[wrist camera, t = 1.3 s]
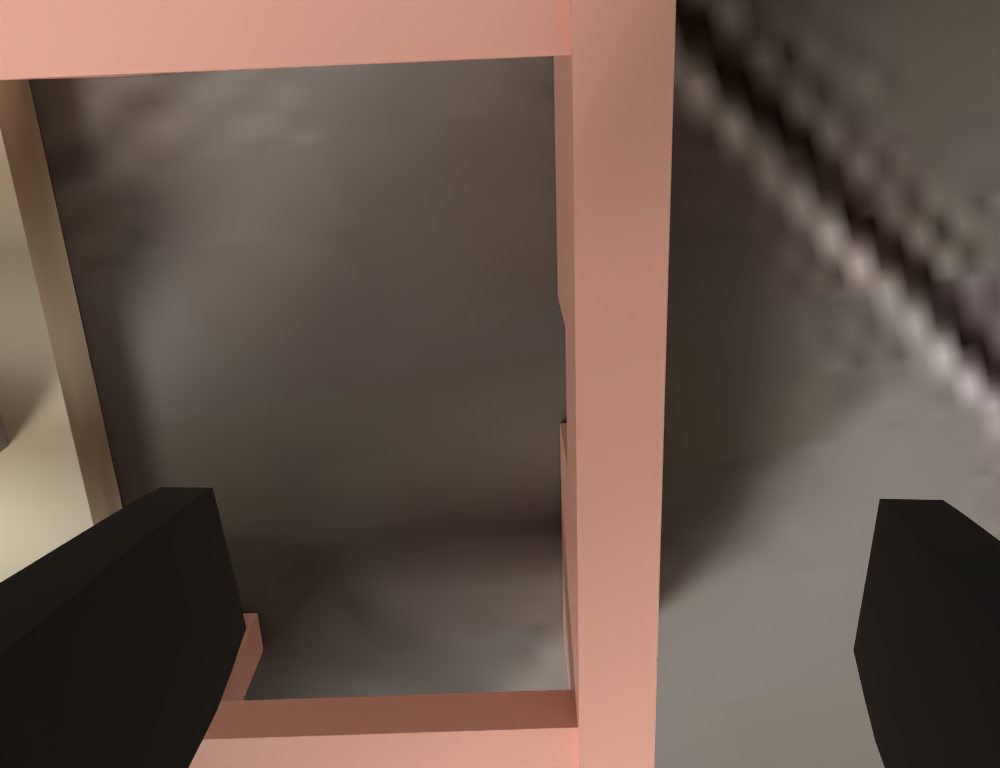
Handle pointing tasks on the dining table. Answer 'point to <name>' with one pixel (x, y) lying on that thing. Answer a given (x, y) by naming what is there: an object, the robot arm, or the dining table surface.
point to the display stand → (42, 362)
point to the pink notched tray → (589, 346)
